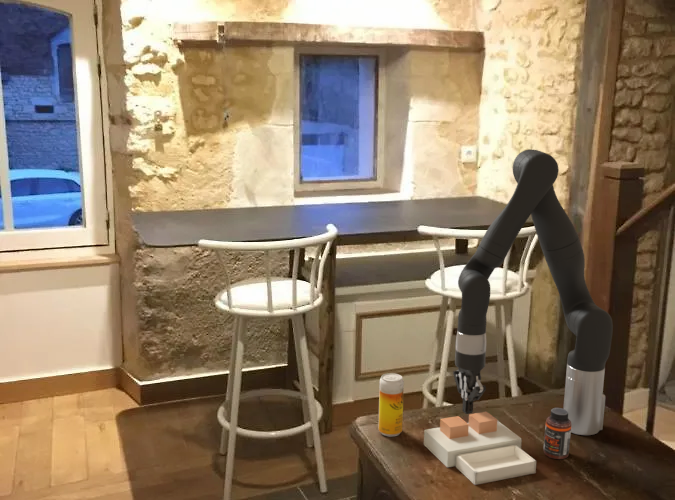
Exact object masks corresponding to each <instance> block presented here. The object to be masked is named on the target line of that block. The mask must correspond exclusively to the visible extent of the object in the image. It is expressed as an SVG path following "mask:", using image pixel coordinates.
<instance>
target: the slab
mask: <svg viewBox="0 0 675 500" xmlns="http://www.w3.org/2000/svg"><path fill="white" fill-rule="evenodd" d="M467 423H468V424H469V422H467ZM511 445H517V446H518V447H519V448H520V449H522V438H521V436H519V435H518V434H516V433H515V432H513V431H512V430H511V429H509V428H508V427H507V426H506V425H504V424H503V423H501V422H500V421H499V419H497V431H494V432H488V433H483V434H478V433H477V432H476V431H474V430H473V429H472V428H471V427H470V426H469V428H468V436H465V437H459V438H453V439H449V438H448V437H447V436H446V435H445V434H444V433H442V432H441V431H440V426H439V427H433V428H428V429H424V431H423V446H424V447H426V448H427V449H428V450H429V451H430V452H431V454H433V455H434V456H435V458H437V459H438V460H439V461H440V462H441V463H442V464H443V465H444V466H445V467H446V468H452V467H456V455H461V454H466V453H472V452H477V451H483V450H489V449H494V448H500V447H505V446H511Z"/></svg>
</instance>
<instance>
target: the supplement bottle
mask: <svg viewBox="0 0 675 500" xmlns="http://www.w3.org/2000/svg"><path fill="white" fill-rule="evenodd" d="M544 427H545V428H544V440H543V453H544V454H545V456H547V457H548V458H550V459H554V460H564V459H567V458H568V457H569V455H570V454H569V453H570V445H571V444H570V442H571V436H572V434H571V421H570V420H569V419H568V411H567V410H565V409H564V408H561V407H554V408H552V409H550V416H548V417H546V421H545V426H544Z"/></svg>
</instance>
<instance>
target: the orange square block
mask: <svg viewBox="0 0 675 500" xmlns="http://www.w3.org/2000/svg"><path fill="white" fill-rule="evenodd" d="M468 423H469V422H466V421H465V420H464V419H462V418H461V417H460V416H458V415H457V416H450V417H445V418H440V420H439V427H440V431H441V432H442V433H444V434H445V435H446V436H447V437H448V438H449V439H453V438H459V437H465V436H468V428H469V424H468Z"/></svg>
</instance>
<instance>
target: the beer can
mask: <svg viewBox="0 0 675 500" xmlns="http://www.w3.org/2000/svg"><path fill="white" fill-rule="evenodd" d="M404 385H405V380H404V379H403V376H402V375H401V374H398V373H394V372H391V373H390V372H389V373H384V374H382V375H381V377H380V379H379V388H378V389H379V392H378V395H379V396H378V398H379V399H378V426H377V427H378V428H377V429H378V431H379V432H380V434H381V435H382V436H385V437H390V438H391V437H392V438H393V437H397V436H399V435H400V434H401V433H402V432H403V418H404V415H403V414H404Z"/></svg>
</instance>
